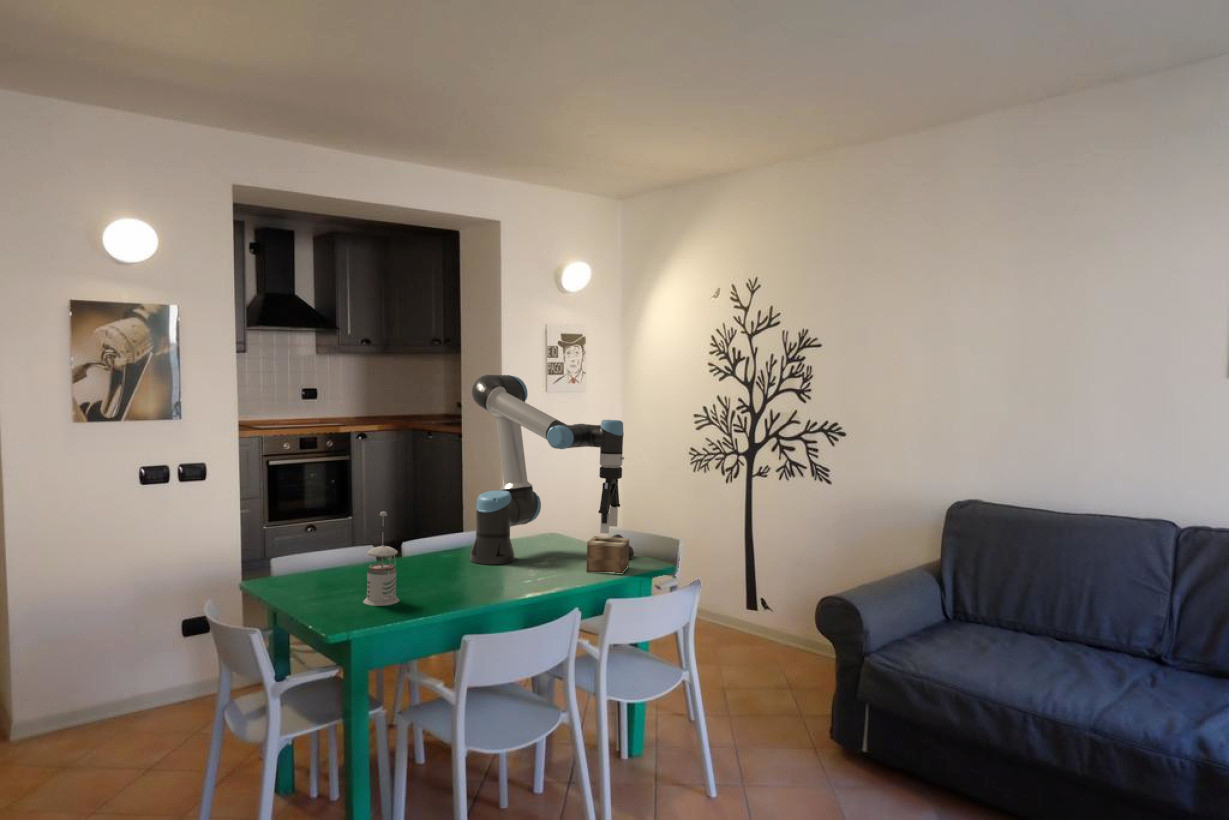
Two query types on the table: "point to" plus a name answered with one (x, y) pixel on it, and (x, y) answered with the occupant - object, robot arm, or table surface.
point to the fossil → (631, 552)
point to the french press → (381, 577)
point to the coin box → (607, 554)
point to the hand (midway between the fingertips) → (609, 529)
